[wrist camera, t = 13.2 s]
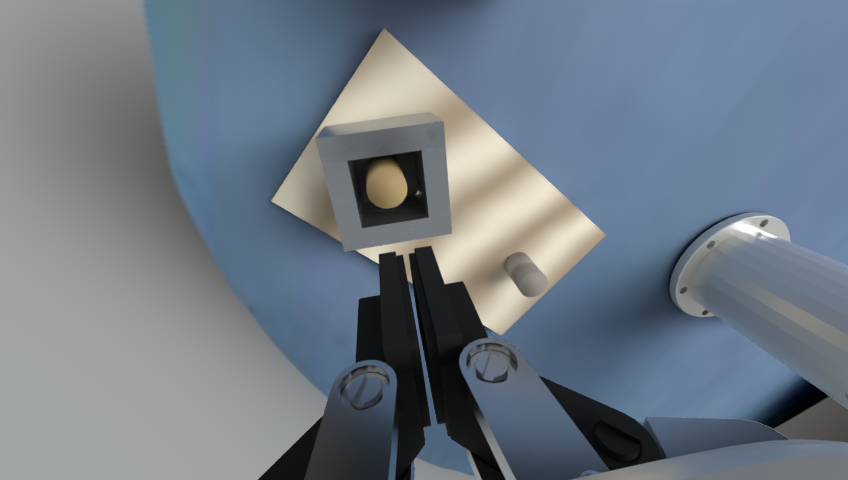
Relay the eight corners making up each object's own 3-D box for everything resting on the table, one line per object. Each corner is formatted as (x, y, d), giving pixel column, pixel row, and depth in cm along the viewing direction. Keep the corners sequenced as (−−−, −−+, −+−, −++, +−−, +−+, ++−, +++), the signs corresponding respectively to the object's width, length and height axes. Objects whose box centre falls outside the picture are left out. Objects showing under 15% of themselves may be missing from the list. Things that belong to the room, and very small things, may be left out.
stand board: (598, 229, 31) (651, 266, 25) (497, 327, 35) (523, 379, 29) (382, 29, 21) (389, 14, 16) (275, 195, 25) (247, 233, 19)
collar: (429, 111, 22) (443, 121, 18) (438, 208, 25) (452, 233, 21) (324, 126, 22) (315, 138, 18) (347, 222, 25) (344, 251, 21)
